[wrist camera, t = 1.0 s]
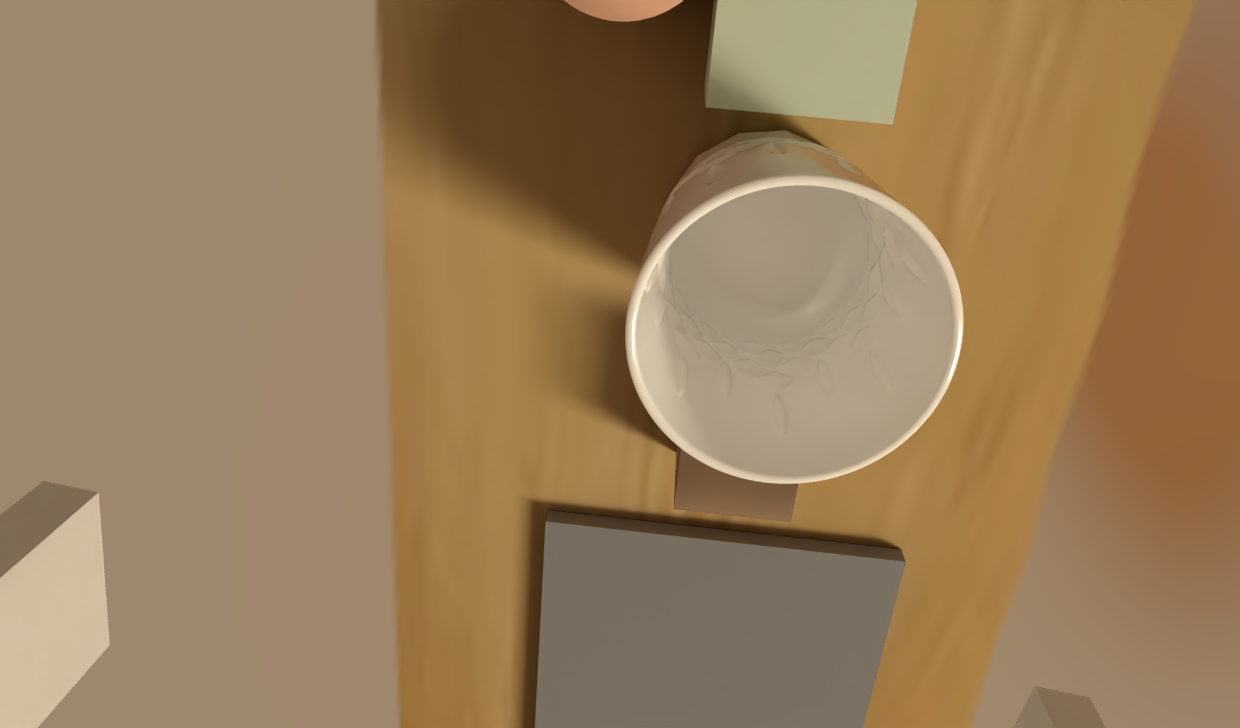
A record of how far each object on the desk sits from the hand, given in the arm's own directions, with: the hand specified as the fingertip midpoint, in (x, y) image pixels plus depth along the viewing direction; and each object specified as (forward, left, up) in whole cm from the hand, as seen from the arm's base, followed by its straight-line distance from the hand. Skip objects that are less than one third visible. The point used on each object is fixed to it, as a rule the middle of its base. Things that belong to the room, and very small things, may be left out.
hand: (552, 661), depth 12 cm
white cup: (-4, +3, -20) cm, 21 cm away
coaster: (+11, +15, -20) cm, 27 cm away
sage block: (-9, -2, -20) cm, 22 cm away
